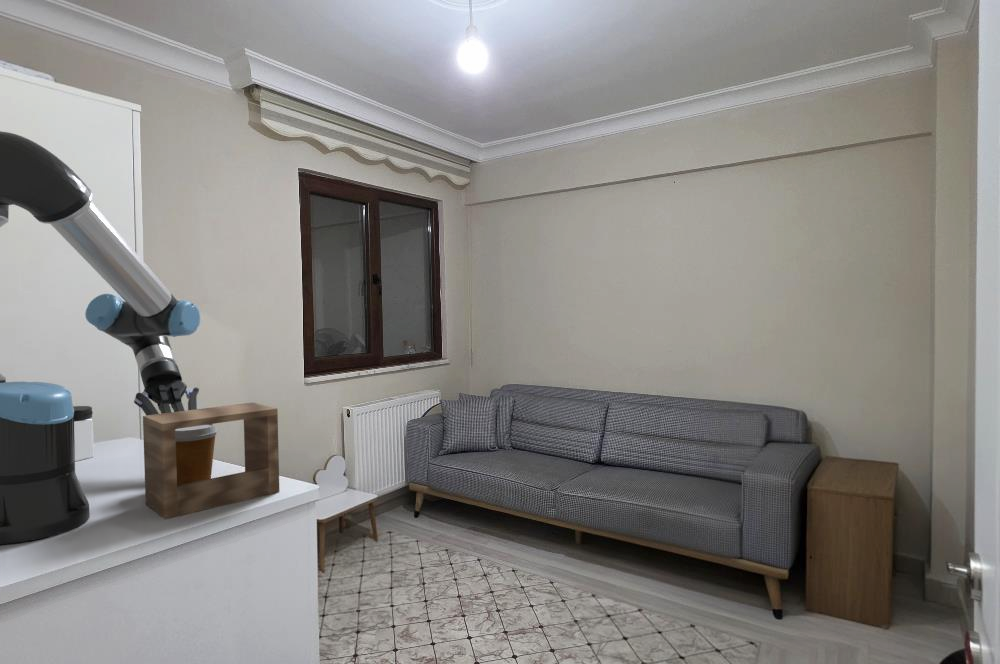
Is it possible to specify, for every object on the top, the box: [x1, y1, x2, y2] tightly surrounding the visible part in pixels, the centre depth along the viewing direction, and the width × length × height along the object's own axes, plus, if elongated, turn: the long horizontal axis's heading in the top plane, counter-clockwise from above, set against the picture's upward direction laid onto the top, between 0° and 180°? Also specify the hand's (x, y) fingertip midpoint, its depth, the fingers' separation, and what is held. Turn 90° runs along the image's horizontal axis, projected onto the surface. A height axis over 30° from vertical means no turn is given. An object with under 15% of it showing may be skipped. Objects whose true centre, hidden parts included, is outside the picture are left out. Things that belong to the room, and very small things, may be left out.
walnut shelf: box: [142, 402, 280, 520], centre depth 110 cm, size 20×11×16 cm, turn 136°
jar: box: [73, 405, 95, 463], centre depth 140 cm, size 9×8×12 cm
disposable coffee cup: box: [175, 423, 219, 485], centre depth 118 cm, size 10×10×12 cm
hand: (187, 455), depth 122 cm, fingers closed
